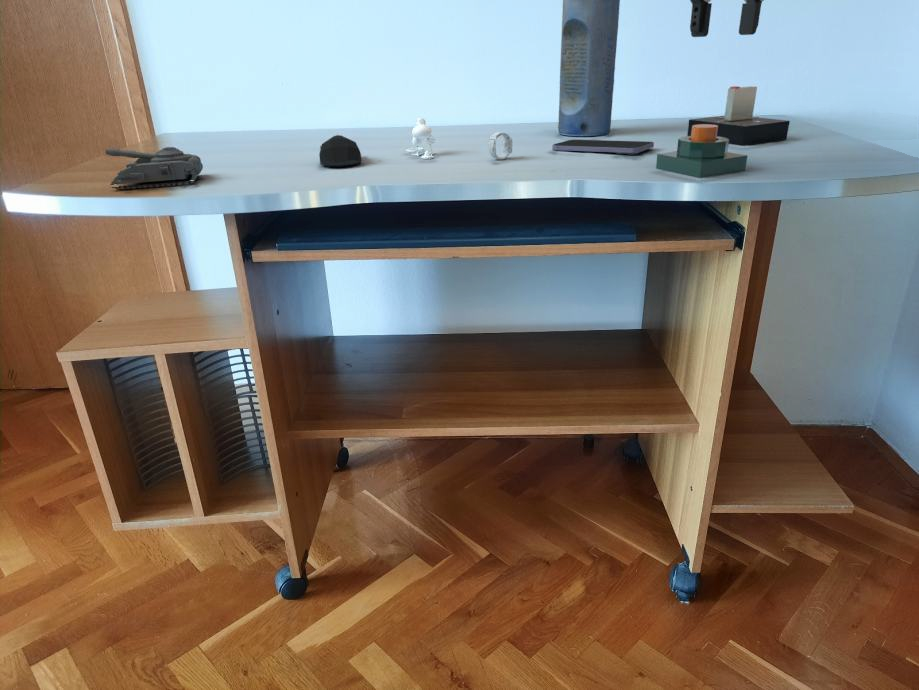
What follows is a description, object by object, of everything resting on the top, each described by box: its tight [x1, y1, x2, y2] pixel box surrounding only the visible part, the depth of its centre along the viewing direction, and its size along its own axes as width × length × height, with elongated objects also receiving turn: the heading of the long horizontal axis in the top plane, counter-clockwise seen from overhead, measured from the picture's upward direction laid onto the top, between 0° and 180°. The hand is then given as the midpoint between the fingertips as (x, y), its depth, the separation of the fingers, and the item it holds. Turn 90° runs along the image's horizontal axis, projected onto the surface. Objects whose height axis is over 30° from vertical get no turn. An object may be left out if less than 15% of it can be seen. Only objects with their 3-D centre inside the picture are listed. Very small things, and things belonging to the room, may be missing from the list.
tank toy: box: [105, 146, 204, 190], centre depth 90 cm, size 12×10×5 cm
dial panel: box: [686, 115, 791, 147], centre depth 107 cm, size 12×10×3 cm
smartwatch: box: [487, 131, 513, 161], centre depth 98 cm, size 4×2×4 cm, turn 123°
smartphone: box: [551, 139, 655, 156], centre depth 102 cm, size 7×1×15 cm
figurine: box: [406, 117, 437, 160], centre depth 104 cm, size 5×10×6 cm, turn 8°
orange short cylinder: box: [691, 124, 718, 141], centre depth 84 cm, size 3×3×2 cm
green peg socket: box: [655, 135, 748, 179], centre depth 85 cm, size 8×8×4 cm
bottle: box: [557, 0, 621, 137], centre depth 113 cm, size 10×10×30 cm
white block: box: [724, 85, 758, 121], centre depth 105 cm, size 5×1×5 cm, turn 116°
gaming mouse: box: [318, 134, 362, 168], centre depth 102 cm, size 6×15×4 cm, turn 12°
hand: (723, 35), depth 83 cm, fingers open, 8 cm apart
